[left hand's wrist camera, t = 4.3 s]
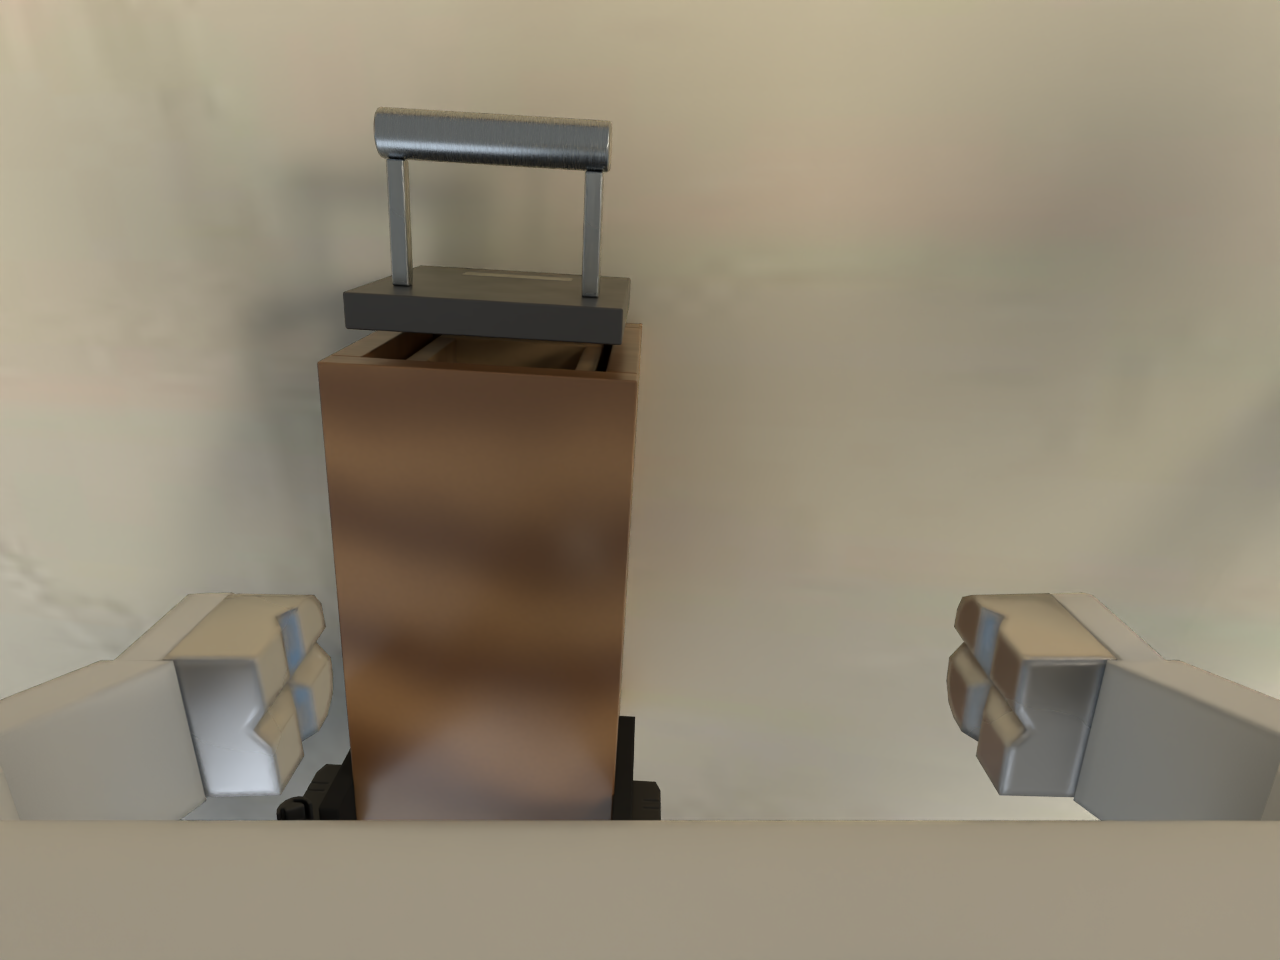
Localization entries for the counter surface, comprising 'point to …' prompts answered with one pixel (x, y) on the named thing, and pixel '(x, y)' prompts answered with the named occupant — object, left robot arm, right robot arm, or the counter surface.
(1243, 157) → the counter surface
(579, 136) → the drawer
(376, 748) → the cabinet
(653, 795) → the right robot arm
